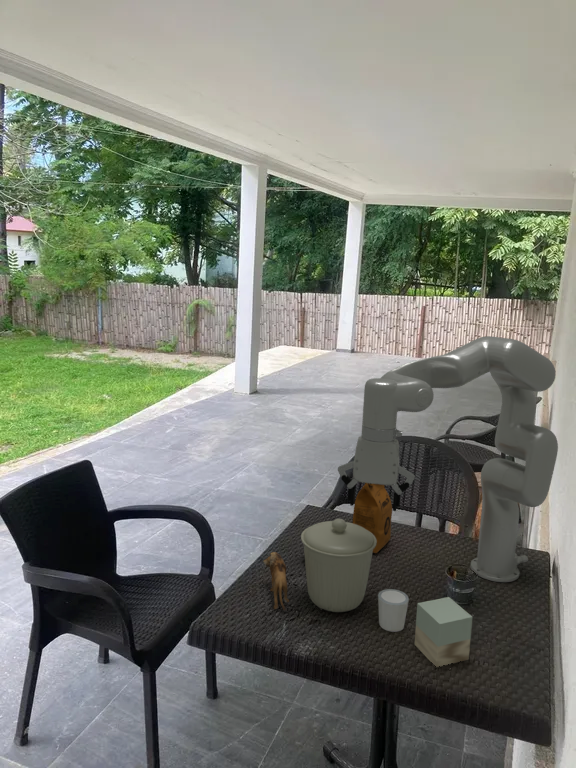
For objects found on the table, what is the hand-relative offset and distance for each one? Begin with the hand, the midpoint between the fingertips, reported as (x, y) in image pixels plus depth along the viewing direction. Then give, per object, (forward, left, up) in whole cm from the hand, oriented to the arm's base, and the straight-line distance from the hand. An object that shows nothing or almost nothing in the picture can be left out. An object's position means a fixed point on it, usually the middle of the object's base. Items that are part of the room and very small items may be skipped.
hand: (373, 506), depth 132 cm
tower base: (-8, +18, -27) cm, 33 cm away
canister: (+5, -7, -27) cm, 28 cm away
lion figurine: (+18, -13, -27) cm, 35 cm away
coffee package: (-18, -31, -27) cm, 44 cm away
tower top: (-8, +18, -22) cm, 29 cm away
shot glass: (-3, +6, -27) cm, 28 cm away
